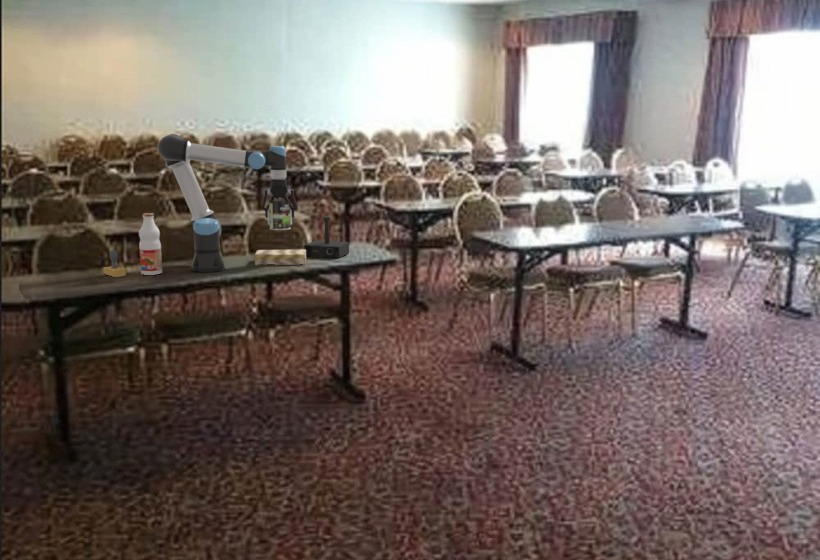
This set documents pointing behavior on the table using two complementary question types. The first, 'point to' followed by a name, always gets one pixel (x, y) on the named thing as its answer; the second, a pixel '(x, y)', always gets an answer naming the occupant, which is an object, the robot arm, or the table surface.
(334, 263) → the table surface
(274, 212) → the coffee can
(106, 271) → the rubber stamp
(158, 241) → the fruit juice
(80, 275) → the table surface
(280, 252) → the beige flat block
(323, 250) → the projector
